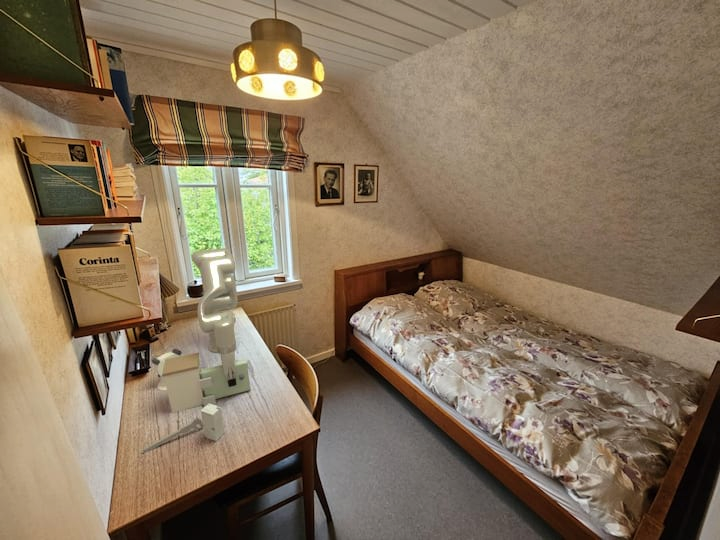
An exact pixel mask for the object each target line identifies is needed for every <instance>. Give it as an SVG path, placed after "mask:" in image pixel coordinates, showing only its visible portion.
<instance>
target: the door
mask: <svg viewBox="0 0 720 540" xmlns="http://www.w3.org/2000/svg"><path fill="white" fill-rule="evenodd" d="M235 365H236V373H235V374H234V375H235V377H236V384H237V385H236V386H232V387H229V386H228V376H224V374H223V368H222V364H221V365H217V366H212V367H208V368H201V374H202V379H205V378H209V377H211V378H212V383H213V386H212V387H208V388H204V390H205V396H206V397H207V396H211V395H215V400H217V399H221V398H223V397H224V398H225V397H228V396H229V397H230V396H232V395H236V394H239V393H242V392H247V391H250V390H251V383H250V376H249V375H250V374H249V368H248V367H249V366H248V360H247V359H243V360H242V359H241V360H238V361H237V360H236V361H235ZM231 368H232V367H231ZM232 375H233V374H232Z"/></svg>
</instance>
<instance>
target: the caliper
mask: <svg viewBox="0 0 720 540" xmlns="http://www.w3.org/2000/svg"><path fill="white" fill-rule="evenodd" d="M192 419H193V420H191V422H189V423H186V424H185V425H182V426H181V427H180V429H179V428H178V429H177V430H175V431H173V432H172V433H170V434H168V435H165V436H164V437H162V438H160V439H158V440H156V441H155V442H153V443H150V444H149V445H148V446H145V447H143V449H142V450H141V451H140V454H139V455H142V454H144V453H147V452H150V451H151V450H153V449H156V448H158V447H159V446H161V445H163V444H165V443H166V442H168V441H170V440H172V439H174V438H176V437H178V436H179V435H181V434H183V435H185V434H186V433H189V432H190V431H191V430H192V429H193V430H194V431H196V432H199V428H198V425H199V426H200V428H201V430H204V429H203V422H202V418H200V417H198V416H196V417H195V418H194V417H193V418H192Z"/></svg>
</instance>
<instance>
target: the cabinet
mask: <svg viewBox="0 0 720 540" xmlns="http://www.w3.org/2000/svg"><path fill="white" fill-rule="evenodd" d="M201 371H202V367H201V363H200V353H199V352H195V353H190V354H185V355H179V357H175V358H170V359H166V360H165V364H164V368H163V372H162V376H163V377H164V380H165V384H166V389H167V391H166V393H167V397H168V401H169V405H170V409H171V413H172V414H174V413H177V412H180V411H186V410H188V409H193V408H196V407H200V406H203V408H204V407H205V406H207V405H208V404H209V403H210V404H212V405H216V404H217V402H216V400H217V399H215V395H211V396H207V397H206V396H205V390H204V388H208V387H212V386H213V383H212V378H211V377H209V378H205V379H202V374H201Z"/></svg>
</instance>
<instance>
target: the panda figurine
mask: <svg viewBox="0 0 720 540" xmlns="http://www.w3.org/2000/svg"><path fill="white" fill-rule="evenodd" d="M179 356H182V351H181V350H180V349H177V348H173V349H172V351H169V352H166V353H164V354H161V355H160V356H158V357H157V358H156V357H155V358H154V357H153V358H152V359H151V363H152V364H153V370H154V372H155V374H157V377H158V378H159V379H160V381H158V383H157V389H158V390H159V391H162V392H167V389H166V384H165V380H164V377H163V376H162V372H163V368H164V364H165V360H166V359H170V358H175V357H179Z"/></svg>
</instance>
